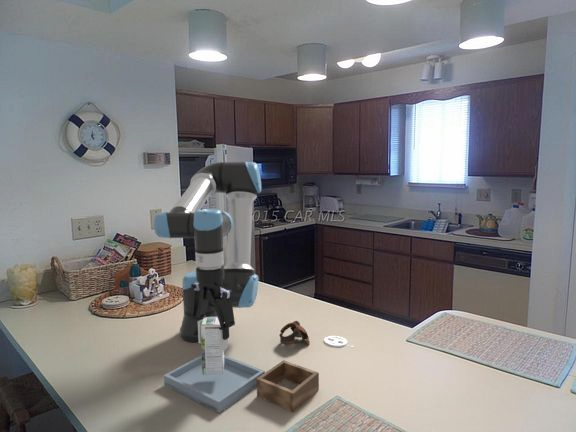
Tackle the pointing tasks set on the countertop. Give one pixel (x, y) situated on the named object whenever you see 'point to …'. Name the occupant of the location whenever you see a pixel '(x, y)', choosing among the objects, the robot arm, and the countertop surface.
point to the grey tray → (214, 382)
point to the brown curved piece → (294, 333)
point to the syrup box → (211, 347)
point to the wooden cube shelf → (282, 395)
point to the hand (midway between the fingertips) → (213, 345)
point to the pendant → (336, 341)
